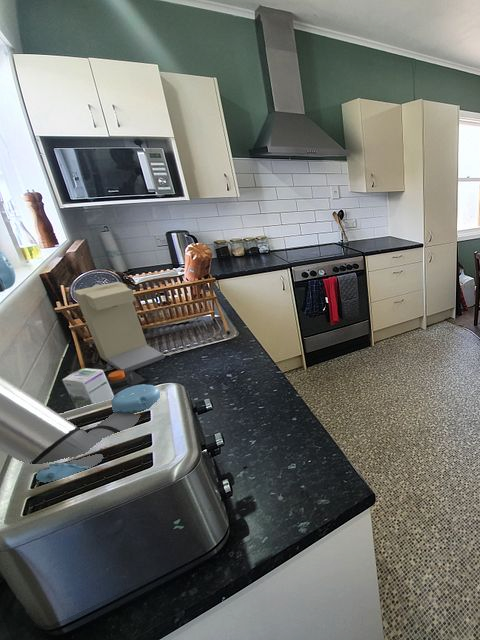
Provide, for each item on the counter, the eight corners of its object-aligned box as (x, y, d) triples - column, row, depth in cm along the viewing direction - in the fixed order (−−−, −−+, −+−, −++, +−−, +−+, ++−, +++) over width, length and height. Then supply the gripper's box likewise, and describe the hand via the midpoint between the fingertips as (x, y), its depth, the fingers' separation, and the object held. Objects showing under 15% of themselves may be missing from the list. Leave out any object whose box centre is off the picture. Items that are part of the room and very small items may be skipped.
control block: (107, 399, 101) (103, 390, 100) (93, 387, 105) (90, 379, 104) (147, 382, 109) (144, 374, 107) (132, 372, 113) (129, 365, 112)
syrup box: (122, 412, 96) (104, 368, 90) (102, 427, 91) (81, 381, 85) (103, 410, 96) (84, 366, 90) (82, 425, 91) (60, 379, 85)
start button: (113, 383, 104) (111, 378, 103) (108, 379, 105) (106, 374, 105) (127, 377, 106) (125, 372, 106) (122, 373, 108) (120, 369, 107)
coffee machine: (123, 374, 112) (95, 303, 102) (100, 358, 120) (72, 290, 110) (165, 359, 122) (143, 292, 111) (141, 344, 130) (118, 281, 119)
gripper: (70, 484, 70) (36, 441, 80) (198, 416, 90) (158, 388, 100) (55, 457, 67) (22, 415, 77) (191, 392, 87) (150, 366, 96)
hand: (98, 400), depth 88 cm, fingers open, 13 cm apart
